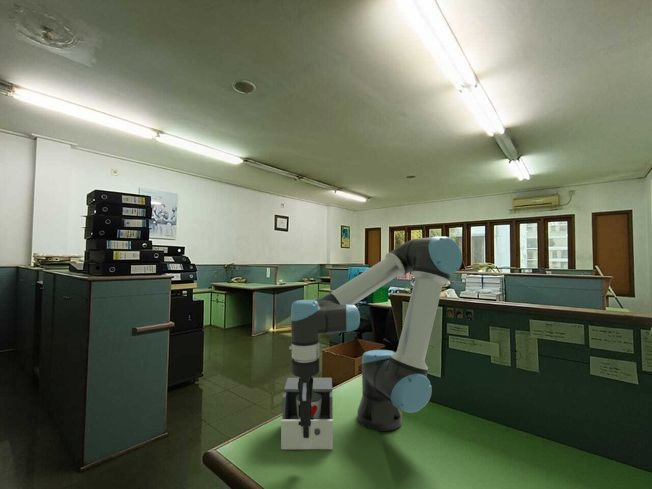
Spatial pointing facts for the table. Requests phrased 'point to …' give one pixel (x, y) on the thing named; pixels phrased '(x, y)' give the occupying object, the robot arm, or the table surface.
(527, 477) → the table surface
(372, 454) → the table surface
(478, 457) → the table surface
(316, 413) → the cup
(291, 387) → the housing
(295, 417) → the white drawer
